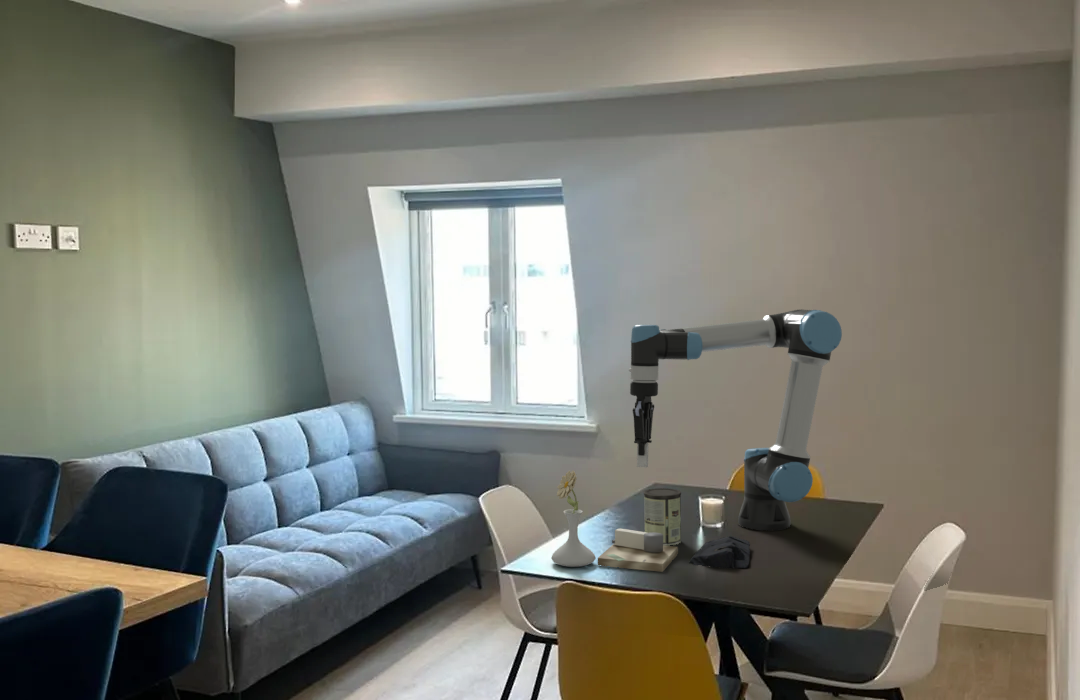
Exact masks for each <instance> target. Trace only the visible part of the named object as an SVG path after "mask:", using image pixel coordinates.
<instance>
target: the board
mask: <svg viewBox="0 0 1080 700" xmlns="http://www.w3.org/2000/svg"><path fill="white" fill-rule="evenodd" d="M677 554H678V555H679V546H675V545H673V546H663V551H662V552H656V553H652V552H646V551H644V550H642V549H636V548H630V547H624V546H618V545H615V544H613V543H612V545H611V546H609V547H608V548H607V549H606V550H605V551H604V552H603V553H601V555H599V556H598V557H597V566H598V565H601V566H600V567H607V566H610V568H617V567H619V568H620V569H629V570H631V569H632V570H640V571H641V570H642V571H650V572H651V571H652V572H653V571H654V572H661V573H663V572H664V571H665V570H666V568H667V567H668V566H669V565H670V564H671V563H672V562H673V561H674V559H676V557H677V556H678V555H677ZM672 560H673V561H672Z"/></svg>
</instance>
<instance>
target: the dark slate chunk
mask: <svg viewBox="0 0 1080 700" xmlns="http://www.w3.org/2000/svg"><path fill="white" fill-rule="evenodd" d="M750 546H751V543H750V541H748V540H747V539H742V538H737V537H736V536H731V535H730V536H726V537H721V538H718V539H713V540H710V541H707V542H705V543H704V544H703V545H702V546H701V547H702V548H701V547H700V548H699V549H698V550H696V552H695V553H694V555H692V557H691V558H690V559H689V562H688V563H689V564H690V563H693V564H692V565H693V566H698V565H702V566H701V567H709V566H710V568H715V567H720V568H719V569H747V568H748V567H749V564H750V555H751V551H750Z"/></svg>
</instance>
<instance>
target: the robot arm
mask: <svg viewBox="0 0 1080 700" xmlns="http://www.w3.org/2000/svg"><path fill="white" fill-rule="evenodd" d="M842 334H843V333H842V327H841V324H840V322H839V321H838V319H837V318H836V317H835V316H834V315H833V314H832V313H830V312H827V311H823V310H821V309H794V310H789V311H785V312H779V313H776V314H769V315H768V314H767V315H764V316H763V318H762V319H754V320H743V321H737V322H736V321H735V322H728V323H717V324H711V325H709V324H708V325H701V326H700V325H699V326H689V327H683V328H674V329H665V328H662V329H660V326H659V325H657V324H634V326H632V329H631V335H630V336H631V338H630V368H629V369H628V371H629V372H630V379H631V380H632V381H631V382H630V384H629V386H630V388H629V390H630V392H629V393H630V395H631V396H633V397H636V400H635V402H634V407H633V408H632V416H633V429H634V432H633V433H634V441H633V442H634V444H637V445H636V446H637V449H636V450H637V451H636V467H637V468H645V469H646V468H649V444H652V440H651V438H652V431H653V430H652V429H653V420H654V419H653V418H654V410H655V404H653V402H652V397H656V396H658V393H659V383H658V382H657V381H658V380H659V362H660V361H659V360H680V361H681V360H687V361H690V360H698V359H700V357H701V356H702V353H706V352H714V351H716V352H717V351H723V350H732V349H733V350H734V349H741V348H743V349H744V348H752V347H759V346H762V347H763V346H766V347H767V348H768V349H774V348H783V349H784V348H785V349H788V350H787V355H788V357H789V359H791V362H790V363H791V364H790V368H789V373H788V378H787V383H786V387H785V393H784V398H783V403H782V409H781V414H780V418H779V424H778V429H777V433H776V439H775V442H774V444H772V445H771V446H770V447H756V448H755V447H753V448H748V449H746V450H745V451H744V459H743V463H744V466H743V468H744V471H743V473H744V475H743V476H744V478H743V481H744V482H743V483H744V484H743V485H744V486H743V488H744V490H743V491H744V493H743V494H744V495H743V497H744V499H743V501H742V504H741V507H740V511H739V513H738V517H737V518H738V520H737V521H738V522H737V524H738V523H739V524H740V525H741V526H740V525H739V524H738V525H739V526H740V527H742V526H743V527H742V528H744V527H746V528H745V529H748V528H751V529H750V530H753V529H756V530H755V531H763V530H766V531H767V530H768V531H767V532H771V531H772V530H774V531H781V530H787V529H789V528H790V527H791V526H790V525H792V523H791V516H790V512H789V510H788V507H787V503H795V502H798V501H801V500H802V499H804V498H805V497H806V496H807V495H808V494H809V493H810V491H811V488H812V486H813V482H814V481H813V479H814V478H813V474H812V472H811V469H809V466H810V461H811V456H810V454H809V453H808V451H807V447H808V443H809V438H810V437H809V436H810V432H811V427H812V422H813V416H814V412H815V407H816V402H817V397H818V393H819V392H818V391H819V386H820V381H821V376H822V373H823V367H824V366H825V365H827V364H828V363H830V360H831V355H832V352H833V351H834V350H835V349H836V348H838V347H839V345H840V342H841V340H842ZM788 527H789V528H788ZM786 528H787V529H786Z"/></svg>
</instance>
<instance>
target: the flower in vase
mask: <svg viewBox="0 0 1080 700" xmlns="http://www.w3.org/2000/svg"><path fill="white" fill-rule="evenodd" d="M577 478H578V477H577V474H576V471H575V470H572V471H571V470H568V471H567V472H566V473H565V475H562V476H561V480H560V481H559V484H558V485H557V489H558V490H557V493H556V497H558V500H563V499H565V498H566V501H567V503H568V504H569V505H571V507H573V509H565V510H563V513H564V516H565V517H566V520H567V523H568V524H567V525H568V538H567V540H566V542H564V543H563V544H562V545H561V546H559V548H557V549H556V550H555V551H554V552H553V553H552V555H551V560H552V562H553V563H554V564H557V565H559V566H562V567H568V568H569V567H570V568H575V567H577V568H579V567H585V566H588V565H590V564H593V563H594V562H595V560H596V559H597V558H596V555H595V553H594V552H593V551H592V550H591V549H590V548H588V547H587V546H586V545H585V544H583V542H581V541H580V538H579V535H578V534H579V532H578V527H579V521H580V518H581V515H582V514H583V513H584V511H583V510H581V509H579V500H577V496H576V493H575V492H574V488H575V486H576V485H575V484H576V482H577ZM571 492H572V495H573V497H574V500H573V498H571V496H570V493H571Z"/></svg>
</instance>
